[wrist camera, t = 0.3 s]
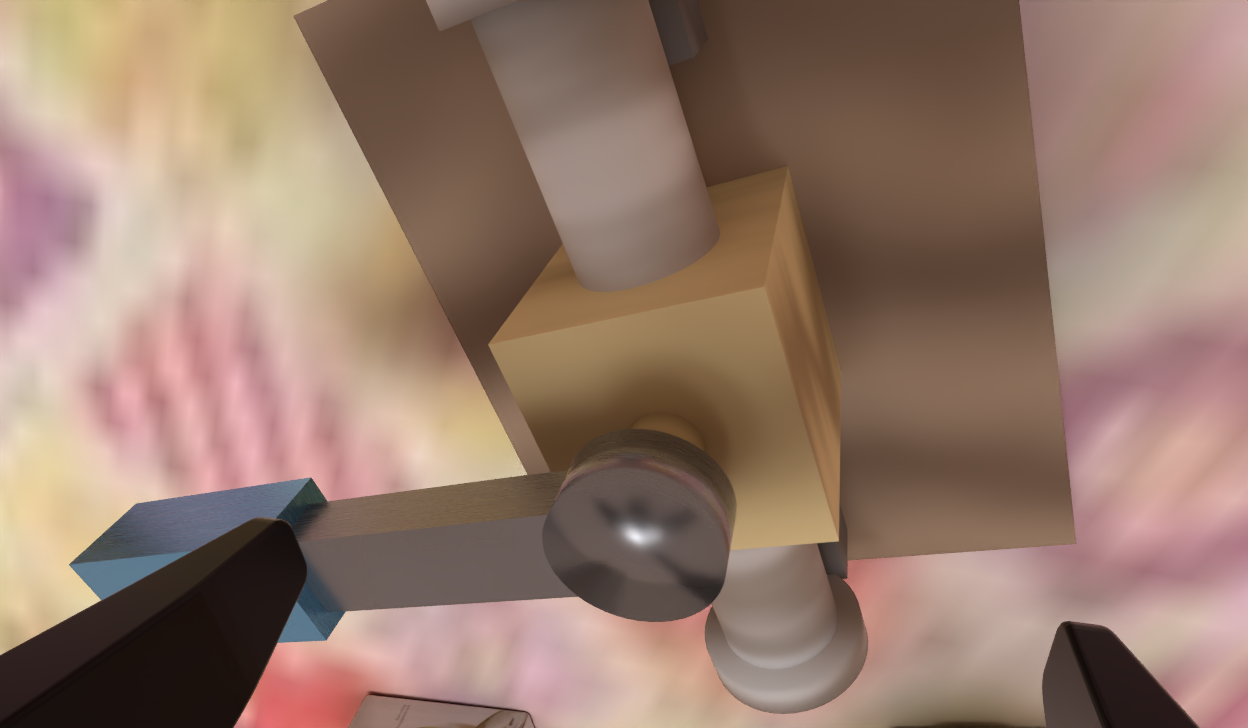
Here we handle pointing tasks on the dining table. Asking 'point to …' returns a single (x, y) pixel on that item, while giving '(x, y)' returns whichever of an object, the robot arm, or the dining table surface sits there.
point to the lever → (472, 537)
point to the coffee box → (432, 715)
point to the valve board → (869, 207)
